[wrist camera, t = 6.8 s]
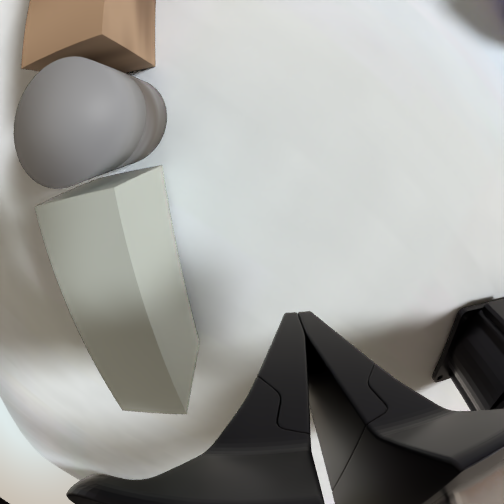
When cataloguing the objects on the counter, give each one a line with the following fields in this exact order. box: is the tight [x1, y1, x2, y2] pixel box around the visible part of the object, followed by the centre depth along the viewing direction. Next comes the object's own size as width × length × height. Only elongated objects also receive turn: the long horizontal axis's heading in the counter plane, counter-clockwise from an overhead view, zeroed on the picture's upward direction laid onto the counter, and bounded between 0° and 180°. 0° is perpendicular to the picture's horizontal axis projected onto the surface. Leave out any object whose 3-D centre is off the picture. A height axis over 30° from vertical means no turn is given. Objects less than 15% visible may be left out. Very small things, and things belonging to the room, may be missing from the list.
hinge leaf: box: [14, 56, 200, 414], centre depth 10 cm, size 13×4×5 cm, turn 6°
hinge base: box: [21, 0, 167, 171], centre depth 6 cm, size 13×4×5 cm, turn 3°
